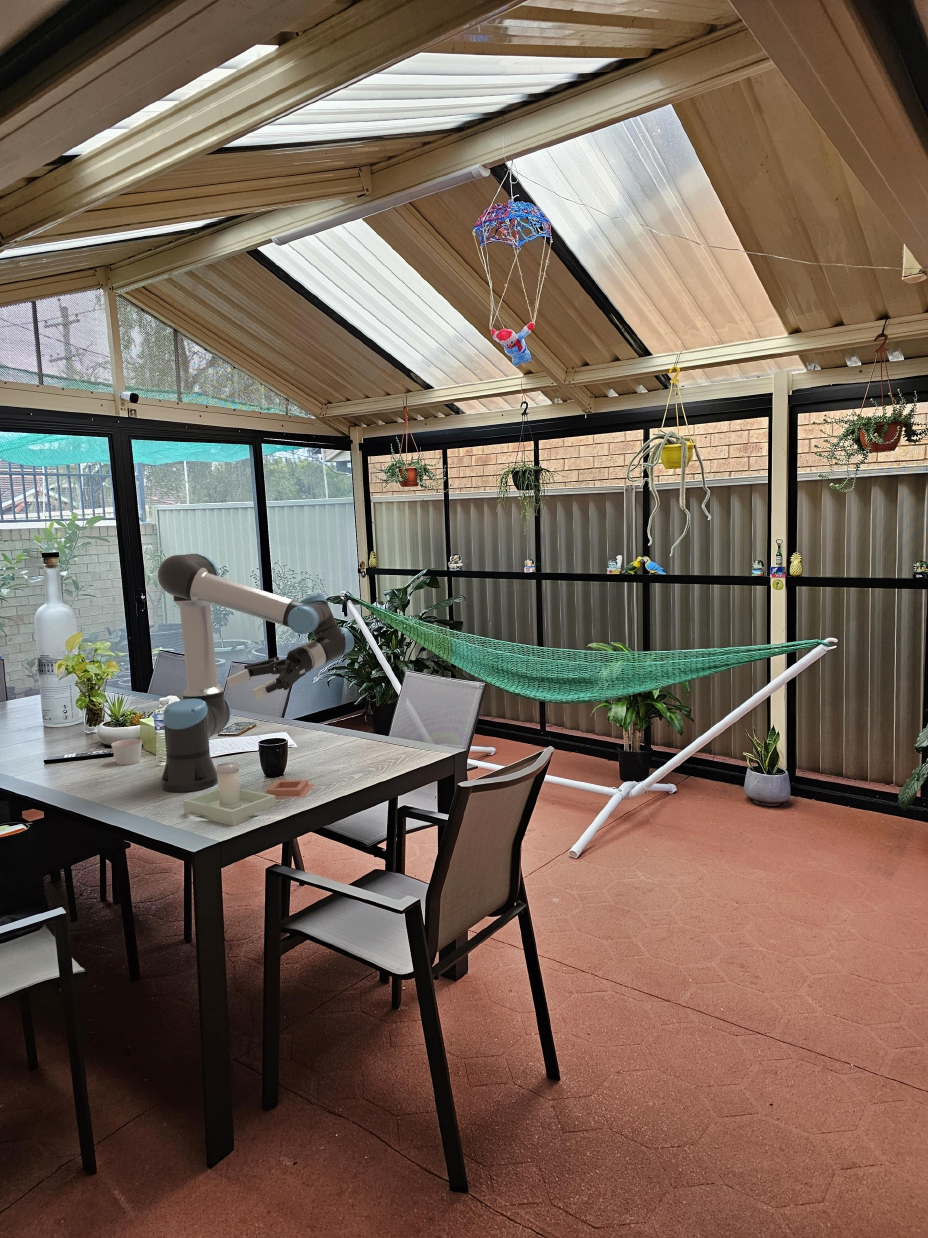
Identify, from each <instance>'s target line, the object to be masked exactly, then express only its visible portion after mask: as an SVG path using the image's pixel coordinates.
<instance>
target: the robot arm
mask: <svg viewBox="0 0 928 1238" xmlns="http://www.w3.org/2000/svg"><path fill="white" fill-rule="evenodd" d="M157 579H158V580H157V581H158V583H159V585H160V587H161V588H162V589H163V590H164V591H165V592H166V593H168V595H171V596H173V598H172V599H173V603H174V604H175V605H177V606H178V607H179V610H180V623H181V624H180V625H181V633H182V644H183V654H184V661H185V663H184V664H185V671H186V672H185V674H186V683H187V685H186V687H187V688H186V689H185V690H184V692H183V693H182V698H183V699H180V700H178V701H177V700H176V701H174V702H173V701H172V702H171V703H169V704H168V705H166V706H165V707H164V709H163V718H162V721H163V727H164V728H163V729H164V731H163V732H164V740H165V741H164V742H165V754H166V756H165V757H166V760H165V765H164V769H163V772H162V777H161V782H160V783H161V789H163V790H164V791H166V792H171V793H172V792H173V793H184V792H186V793H187V792H194V791H200V790H204V789H208V788H210V787H212V786H215V785H217V784H218V773H217V768H216V767H215V764H214V762H213V760H212V757H211V755H210V754H211V752H210V751H211V750H210V738H211V737H213V736H216V735H217V734H219V733H220V732H221V731H223V729H225V727H226V726H227V725H228V724H229V722H230V720H231V715H232V710H231V705H230V703H229V701H228V700H227V699H226V698H225V692H224V688H222V687H221V685H219V682H218V674H217V663H216V662H217V661H216V653H215V641H214V631H213V629H214V628H213V620H212V619H213V618H212V610H211V608H212V607H211V605H212V604H214V605H217V606H221V607H224V608H227V609H230V610H233V611H236V612H240V613H242V614H246V615H249V616H253V617H256V618H258V619H261V620H265V621H267V622H271V623H274V624H277V625H280V626H284V627H286V628H289V629H291V630H292V631H293V632H294V633H296V634H299V635H307V634H310V633H312V635H313V637H314V638H315V639H313V640H310V641H308V642H306V643H304V644H301V645H300V646H298V647H295V648H293V649H291V650H289V651H288V652H287V655H286V658H283V659H282V658H281V659H280V656H274V657H272V658H269V659H265V660H262V661H257V662H254V663H250V664H246V665H244V666H243V669H244V670H241V671H239V672H237V673H235V674H233V675H231V676H228V677H226V678H225V680H226V683H227V688H228V689H230V688H233V687H235V686H237V685H239V684H241V683H244V682H246V681H247V680H251V677H252V678H253V677H257V676H264V675H269V674H271V675H278V677H276V678H275V679H272V680H270V681H268V682H266V683H264V684H262V685H260V686H258V687H255V688H254V689H252V693H253V694H252V695H253V698H254V700H259V699H260V698H263V697H264V696H267V695H269V694H271V693H272V692H275V691H277V690H282V689H283V690H284V691H287V690H289V689H290V688H291V687H292V686H293V685H294V684H295V683H296V682H298V680H300V678H301V677H304V676H306V674H307V673H308V672H311V671H312V670H315V669H316V670H317V669H318V668H319V667H320V666H321V667H322V665H325V664H327V663H329V662H331V661H334V660H336V659H337V658H340V657H343V656H344V655H345V654H347V653H350V652H351V651H352V650H353V649H354V647H355V640H354V636H353V634H352V632H350V630H349V629H348V628H346V627H344V626H343V627H339V625H338V623H337V622H336V618H335V616H334V615H333V613H332V610H331V607H330V606H329V602H328V600H327V599H326V598H325V595H324V594H323V593H322V592H315V594H314V593H313V594H311V595H309V596H307V597H306V598H303V599H301V600H300V601H296V600H294V599H291V598H288V597H284V596H281V595H278V594H275V593H271V592H269V591H266V590H262V589H259V588H256V587H253V586H250V585H246V584H243V583H240V582H238V581H237V582H236V581H234V580H231V579H227V578H224V577H222V576H220V575H219V570H218V567H217V565H216V564H215V562H214V561H213V560H212V559H211V558H209V557H208V556H206V555H203V554H200V553H188V554H174V555H171V556H169V557H167V558H166V559H164V560H163V561H162V562H161V563H160V566H159V567H158V570H157Z"/></svg>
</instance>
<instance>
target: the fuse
mask: <svg viewBox="0 0 928 1238" xmlns="http://www.w3.org/2000/svg"><path fill="white" fill-rule="evenodd" d="M216 771H217V774H218V782H217V785H218V789H219V801H220V802H219V807H222V808H227V809H231V810H233V809H236V808H239V807H241V801H240V790H239V788H240V776H239V771H240V769H239V763H238V762H233V761H232V762H231V761H229V762H223V763H219V764H217V765H216Z"/></svg>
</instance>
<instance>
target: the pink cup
mask: <svg viewBox="0 0 928 1238" xmlns="http://www.w3.org/2000/svg"><path fill="white" fill-rule="evenodd" d="M110 745H111V750H112V752H113V757H114V760H115V763H116V765H118V766H119V765H120V766H126V765H127V766H129V765H134V764H137V763H139V762H140V761H141V756H142V755H141V754H142V746H143V740H142V739H138V738H137V739H136V738H133V739H130V738H129V739H123V740H117V741H115V742H112V743H111V744H110Z"/></svg>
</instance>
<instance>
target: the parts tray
mask: <svg viewBox="0 0 928 1238" xmlns="http://www.w3.org/2000/svg"><path fill="white" fill-rule="evenodd" d="M239 790H240V801H241V807H239V808H236V809H233V810H231V809H227V808H222V807H219V802H220V801H219V788H217V789H214V790H211V791H208V792H205V793H201V794H199V795H196V796H194V797H193V796H192V797H190V798H187V799H184V800H183V813H184V815H189V814H191V813H193V814H198V815H193V817H194V818H200V819H203V820H208V821H212V822H216V823H220V824H223V825H224V824H225V825H227V826H237V825H239V824H241V823H244V822H246V821H249V820H252V819H254V818H256V817H259V816H260V815H259V814H257V813H260V812H262V811H265V810H268V809H270V808H272V807H273V808H274V807H275V806H277V802H276V798H275V795H270V794H265V793H264V792H258V791H255V790H249V789H245V788H240V787H239ZM255 814H257V815H255Z"/></svg>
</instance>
